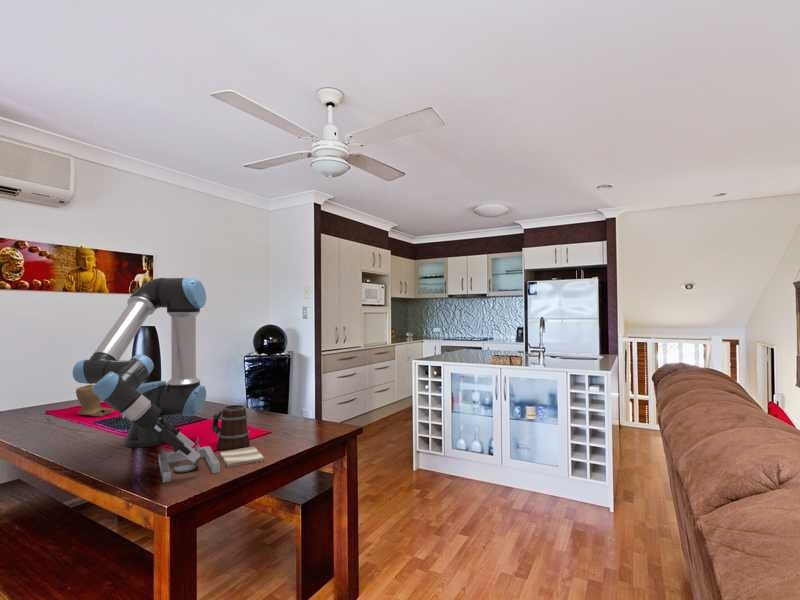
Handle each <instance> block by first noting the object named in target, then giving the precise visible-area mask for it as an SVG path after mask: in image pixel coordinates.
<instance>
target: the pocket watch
mask: <svg viewBox="0 0 800 600" xmlns="http://www.w3.org/2000/svg"><path fill="white" fill-rule="evenodd" d="M199 439H200V438H199V437H197V439H196V441H195V446H194V448H195V451H196V452H197V453H198V454H199V455H200V451H199V448H200V444H199V441H200V440H199ZM200 459H201V458H200V457H199V458H198V459H197V460H196V461H195V462H194V463H193V462H189V463H188V462H187V463H181V464H177V465H176V466H174V467H173V471H174V472H176V473H187V472H191V471H194V470H195V469H196V468H197V466H199V465H200Z"/></svg>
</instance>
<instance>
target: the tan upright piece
mask: <svg viewBox="0 0 800 600" xmlns="http://www.w3.org/2000/svg"><path fill="white" fill-rule="evenodd" d="M94 385H95V384H86V385H82V386H79V387H77V388H76V390H75V395H76V398H77V400H78V402H79V404H80V406H81V409H80V410H79V411H78V412H77V414H78V415H83V416H93V417H104V416H107V415H109V414H112V413H113V412H115V409H114V408H109V407H102V406H101V399H100V398H99V397H98V396H97V395H96V394H95V393H94V392H93V391H92V388H93V386H94Z"/></svg>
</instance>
